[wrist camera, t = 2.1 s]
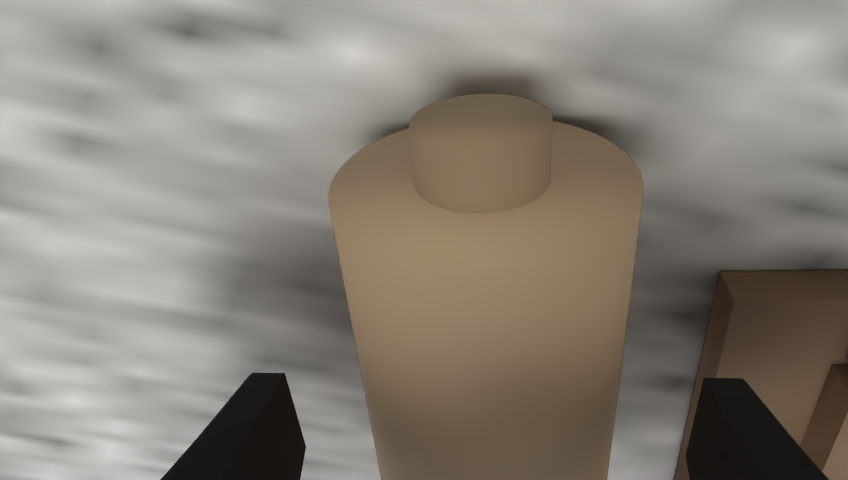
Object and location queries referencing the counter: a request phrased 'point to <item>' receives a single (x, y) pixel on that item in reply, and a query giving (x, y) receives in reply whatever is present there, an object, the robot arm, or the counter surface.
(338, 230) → the bottle
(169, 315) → the counter surface
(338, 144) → the counter surface
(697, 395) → the cradle
